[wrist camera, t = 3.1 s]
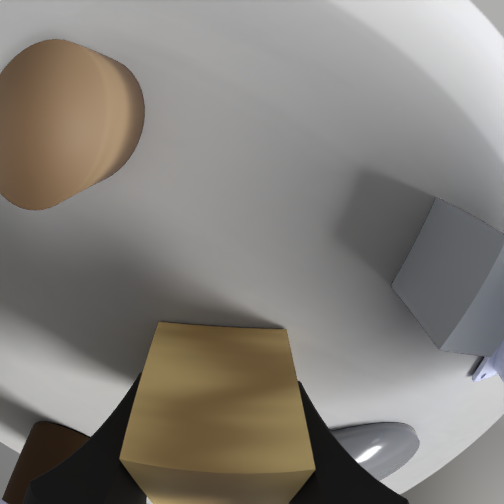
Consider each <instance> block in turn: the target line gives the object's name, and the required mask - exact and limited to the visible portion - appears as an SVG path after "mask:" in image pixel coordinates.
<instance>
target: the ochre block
mask: <svg viewBox="0 0 504 504" xmlns="http://www.w3.org/2000/svg"><path fill="white" fill-rule="evenodd" d="M119 459H120V461H121V462H122V464H123V465H124V466H125V468H126V469H127V471H128V472H129V473H130V475H131V476H132V478H133V479H134V480H135V482H136V483H137V484H138V485H139V487H140V488H141V489H142V491H143V492H144V493H145V494H146V496H147V497H148V498H149V499H150V500H151V502H152V503H153V504H288V503H289V502H290V501H291V499H292V498H293V497H294V496H295V495H296V493H297V492H298V491H299V490H300V489H301V487H302V486H303V485H304V484H305V482H306V481H307V480H308V479H309V477H310V476H311V475H312V473H313V472H314V471H315V464H314V459H313V454H312V449H311V444H310V439H309V434H308V429H307V424H306V419H305V414H304V409H303V405H302V400H301V395H300V390H299V385H298V381H297V376H296V371H295V367H294V362H293V357H292V353H291V348H290V344H289V339H288V334H287V330H286V329H258V328H235V327H218V326H203V325H190V324H178V323H167V322H158V325H157V328H156V331H155V334H154V337H153V340H152V344H151V347H150V350H149V353H148V356H147V359H146V363H145V366H144V369H143V372H142V376H141V379H140V383H139V386H138V389H137V393H136V396H135V400H134V403H133V407H132V411H131V414H130V418H129V422H128V426H127V430H126V434H125V437H124V441H123V446H122V450H121V454H120V458H119Z"/></svg>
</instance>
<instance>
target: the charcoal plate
mask: <svg viewBox="0 0 504 504" xmlns="http://www.w3.org/2000/svg"><path fill="white" fill-rule="evenodd" d="M331 433H332V434H333V435H334V436H335V438H336V439H337V440H338V442H339V443H340V444H341V445H342V446H343V448H344V449H345V450H346V451H347V452H348V453H349V454H350V455H351V456H352V457H353V458H354V459H355V460H356V461H357V462H358V463H359V464H360V465H361V466H362V467H363V468H364V469H365V470H366V471H368V472H369V473H370V474H371V475H372V476H373V477H375V478H376V479H377V480H378V481H380V480H382V479H383V478H385V477H387V476H389V475H390V474H392V473H393V472H395V471H396V470H398V469H399V468H400V467H402V466H403V465H404V464H405V463H407V462H408V461H409V460H410V459H411V458H412V457H413V455H414V454H415V453H416V451H417V450H418V448H419V439H418V437H417V434H416V432H415V430H414V429H413V428H412V427H411V426H409V425H407V424H403V423H388V422H386V423H374V424H367V425H360V426H355V427H349V428H344V429H340V430H335V431H331ZM288 504H289V503H288Z"/></svg>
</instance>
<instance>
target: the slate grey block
mask: <svg viewBox="0 0 504 504" xmlns="http://www.w3.org/2000/svg"><path fill="white" fill-rule="evenodd" d="M391 287H392V288H393V289H394V291H395V292H396V293H397V295H398V296H399V297H400V298H401V300H402V301H403V302H404V303H405V305H406V306H407V307H408V309H409V310H410V311H411V313H412V314H413V315H414V316H415V318H416V319H417V320H418V322H419V323H420V324H421V326H422V327H423V329H424V330H425V331H426V333H427V334H428V335H429V337H430V338H431V340H432V341H433V342H434V344H435V345H436V347H437V348H438V349H439V350H442V351H448V352H455V353H462V354H469V355H476V356H484V357H491V356H492V355H493V354H494V353H495V351H496V350H497V348H498V347H499V346H500V344H501V343H502V342H503V340H504V234H503V233H501V232H499V231H498V230H496V229H494V228H493V227H491V226H489V225H488V224H486V223H484V222H483V221H481V220H479V219H477V218H476V217H474V216H472V215H470V214H468V213H467V212H465V211H463V210H461V209H459V208H457V207H455V206H454V205H452V204H450V203H448V202H446V201H444V200H442V199H440V198H438V197H436V199H435V201H434V203H433V205H432V208H431V210H430V212H429V214H428V216H427V218H426V220H425V222H424V225H423V227H422V229H421V231H420V233H419V235H418V237H417V239H416V241H415V243H414V245H413V246H412V248H411V250H410V252H409V254H408V256H407V258H406V260H405V261H404V263H403V265H402V267H401V269H400V270H399V272H398V274H397V276H396V278H395V279H394V281H393V283H392V284H391Z"/></svg>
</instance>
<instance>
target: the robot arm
mask: <svg viewBox="0 0 504 504" xmlns="http://www.w3.org/2000/svg"><path fill="white" fill-rule="evenodd" d="M497 374H498V375H499V376H500V377H501V379H502V380H503V382H504V340H503V342H502V343H501V344H500V346H499V347H498V348H497V350H496V351H495V353H494V354H493V355H492V356H491V357H485V358H484V359H483V361H482V362H481V364H480V365H479V367H478V368H477V370H476V371H475V373H474V374H473V376H472V380H473V381H474V382H477V381H480V380H483V379H486V378H489V377H491V376H494V375H497ZM141 376H142V372H141V373H140V374H139V375H138V377H137V379H136V380H135V382H134V383H133V385H132V386H131V388H130V389H129V391H128V392H127V394H126V395H125V397H124V398H123V399H122V401H121V402H120V403H119V405H118V406H117V407H116V409H115V410H114V411H113V413H112V414H111V415H110V416H109V418H108V419H107V420H106V421H105V422H104V423H103V425H102V426H101V427H100V428H99V429H98V430H97V431H96V432H95V433H94V434H93V436H91V437H90V438H89V439H88V440H87V441H86V442H85V443H84V444H83V445H82V446H81V447H80V448H79V449H77V450H76V451H75V452H74V453H73V454H72V455H70V456H69V457H68V458H66V459H65V460H64V461H62V462H61V463H59V464H58V465H56V466H55V467H54V468H52V469H50V470H49V471H47V472H45V473H44V474H42V475H40V476H38V477H36V478H35V479H33V480H31V481H30V483H29V485H28V487H27V490H26V493H25V497H24V500H23V504H146V498H147V496H146V494H145V493H144V492H143V491H142V489H141V488H140V487H139V485H138V484H137V483H136V482H135V480H134V479H133V478H132V476H131V475H130V473H129V472H128V471H127V469H126V468H125V466H124V465H123V464H122V462H121V461H120V459H119V458H120V454H121V450H122V446H123V441H124V437H125V434H126V430H127V426H128V422H129V418H130V414H131V411H132V407H133V403H134V400H135V396H136V393H137V389H138V386H139V383H140V379H141ZM298 385H299V390H300V395H301V400H302V405H303V409H304V414H305V419H306V424H307V429H308V434H309V439H310V444H311V449H312V454H313V459H314V464H315V471H314V472H313V473H312V475H311V476H310V477H309V479H308V480H307V481H306V482H305V484H304V485H303V486H302V487H301V489H300V490H299V491H298V492H297V493H296V495H295V496H294V497H293V498H292V499H291V501H290V502H289V504H409V502H408V500H407V499H406V498H404V497H402V496H400V495H399V494H397V493H396V492H394V491H393V490H391V489H389V488H388V487H387V486H385V485H384V484H382V483H381V482H380V481H378V480H377V479H376V478H375V477H373V476H372V475H371V474H370V473H369V472H368V471H366V470H365V469H364V468H363V467H362V466H361V465H360V464H359V463H358V462H357V461H356V460H355V459H354V458H353V457H352V456H351V455H350V454H349V453H348V452H347V451H346V450H345V449H344V448H343V446H342V445H341V444H340V443H339V442H338V440H337V439H336V438H335V436H334V435H333V434H332V433H331V431H330V430H329V428H328V427H327V426H326V424H325V423H324V421H323V420H322V418H321V417H320V415H319V414H318V412H317V410H316V409H315V407H314V405H313V404H312V402H311V400H310V399H309V397H308V395H307V393H306V391H305V389H304V387H303V385H302V383H301V382H300V381H298ZM0 504H8V503H6V502H5V501H3V500H1V499H0Z"/></svg>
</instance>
